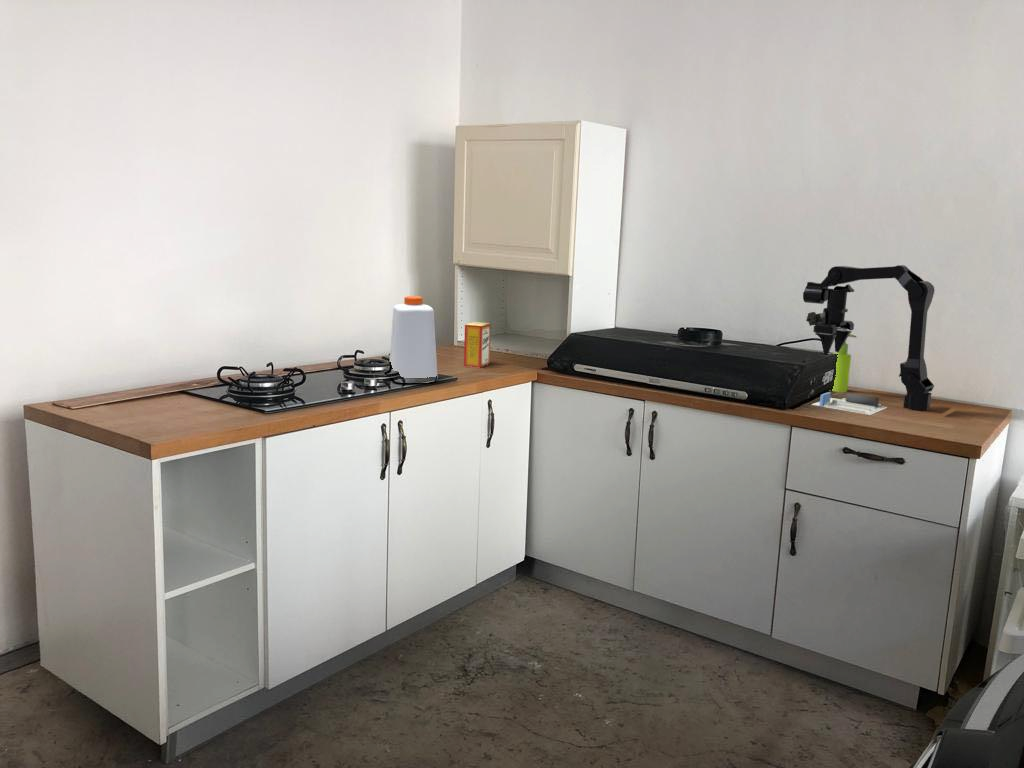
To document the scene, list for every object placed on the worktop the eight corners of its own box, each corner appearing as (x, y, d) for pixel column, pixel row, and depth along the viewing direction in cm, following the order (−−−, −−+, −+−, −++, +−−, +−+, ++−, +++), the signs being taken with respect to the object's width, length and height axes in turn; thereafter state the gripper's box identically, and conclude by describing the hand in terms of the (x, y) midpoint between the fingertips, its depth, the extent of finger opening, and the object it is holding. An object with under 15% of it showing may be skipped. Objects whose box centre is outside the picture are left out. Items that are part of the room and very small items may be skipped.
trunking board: (887, 410, 264) (889, 396, 263) (870, 418, 253) (871, 403, 252) (830, 400, 276) (831, 387, 275) (810, 407, 265) (812, 393, 264)
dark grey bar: (878, 406, 265) (879, 397, 264) (874, 408, 262) (875, 398, 262) (848, 401, 270) (849, 392, 270) (845, 403, 268) (846, 393, 268)
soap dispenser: (851, 395, 285) (858, 336, 282) (829, 394, 287) (835, 334, 283) (848, 392, 291) (854, 333, 287) (827, 390, 292) (833, 332, 288)
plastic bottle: (430, 375, 298) (431, 294, 292) (439, 383, 284) (441, 299, 278) (386, 376, 293) (386, 294, 288) (394, 385, 279) (394, 299, 274)
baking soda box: (480, 368, 314) (481, 324, 311) (464, 366, 316) (464, 323, 313) (489, 364, 323) (490, 322, 320) (473, 362, 325) (474, 320, 322)
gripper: (823, 301, 288) (818, 347, 291) (800, 304, 274) (795, 352, 277) (856, 304, 281) (851, 351, 284) (834, 308, 267) (829, 357, 270)
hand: (831, 353), depth 279 cm, fingers open, 9 cm apart
